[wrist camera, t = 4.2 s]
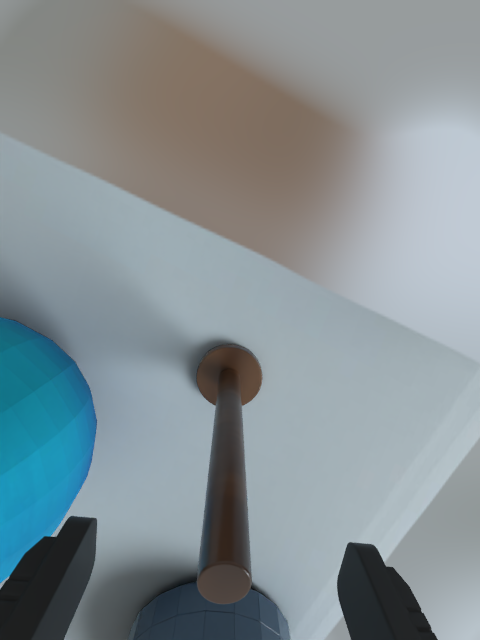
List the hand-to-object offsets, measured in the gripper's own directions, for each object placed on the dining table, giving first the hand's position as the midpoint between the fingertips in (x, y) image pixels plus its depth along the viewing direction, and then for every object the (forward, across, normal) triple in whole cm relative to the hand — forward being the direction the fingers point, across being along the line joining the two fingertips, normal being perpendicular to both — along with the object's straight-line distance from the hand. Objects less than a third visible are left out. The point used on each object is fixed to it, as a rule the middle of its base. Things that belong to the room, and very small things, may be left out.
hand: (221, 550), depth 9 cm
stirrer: (+14, 0, 0) cm, 14 cm away
